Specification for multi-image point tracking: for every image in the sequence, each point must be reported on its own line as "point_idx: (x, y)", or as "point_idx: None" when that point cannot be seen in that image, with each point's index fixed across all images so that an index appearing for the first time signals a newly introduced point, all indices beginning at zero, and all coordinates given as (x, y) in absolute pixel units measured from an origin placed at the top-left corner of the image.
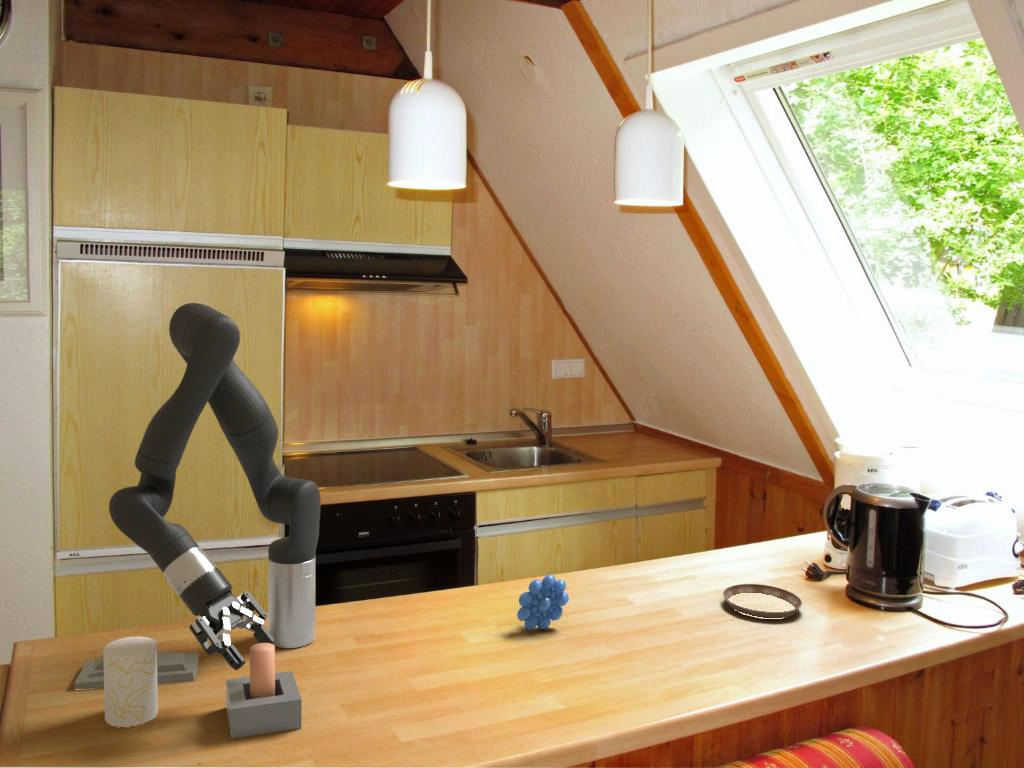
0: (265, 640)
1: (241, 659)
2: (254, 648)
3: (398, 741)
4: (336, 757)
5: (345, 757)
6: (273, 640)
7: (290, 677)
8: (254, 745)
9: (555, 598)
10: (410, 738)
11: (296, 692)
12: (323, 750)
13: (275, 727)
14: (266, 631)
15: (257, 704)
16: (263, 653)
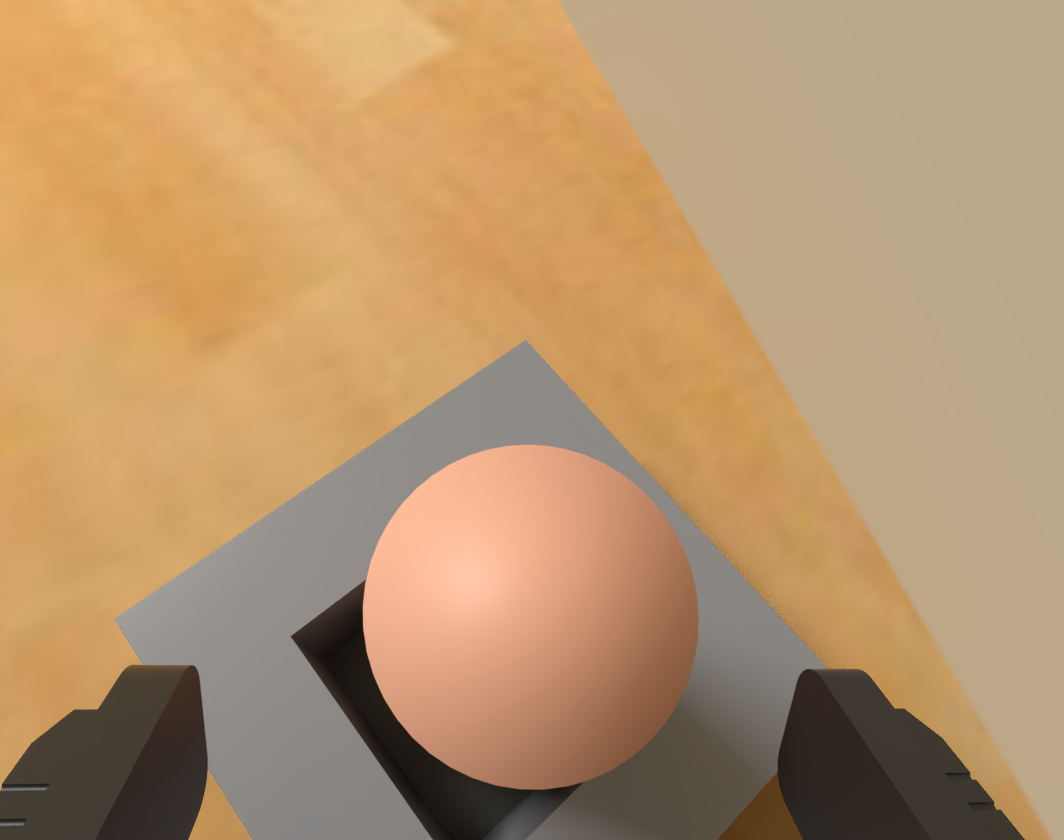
0: (159, 801)
1: (870, 698)
2: (596, 694)
3: (458, 54)
4: (658, 197)
5: (643, 170)
6: (142, 676)
7: (238, 566)
8: (745, 546)
9: None
10: (421, 27)
11: (454, 408)
12: (636, 256)
13: None
14: (46, 828)
15: (706, 556)
16: (651, 507)
